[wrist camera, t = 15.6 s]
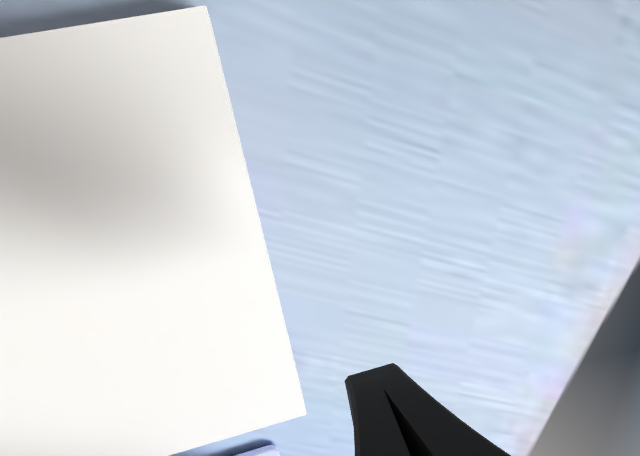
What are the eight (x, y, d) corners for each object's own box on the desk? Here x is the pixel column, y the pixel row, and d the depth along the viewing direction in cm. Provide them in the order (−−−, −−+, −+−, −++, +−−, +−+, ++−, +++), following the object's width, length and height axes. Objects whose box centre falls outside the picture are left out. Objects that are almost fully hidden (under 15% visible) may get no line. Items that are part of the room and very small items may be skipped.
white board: (300, 386, 21) (306, 414, 19) (-18, 478, 19) (-46, 519, 17) (210, 17, 15) (205, 5, 13) (-271, 95, 13) (-356, 94, 11)
